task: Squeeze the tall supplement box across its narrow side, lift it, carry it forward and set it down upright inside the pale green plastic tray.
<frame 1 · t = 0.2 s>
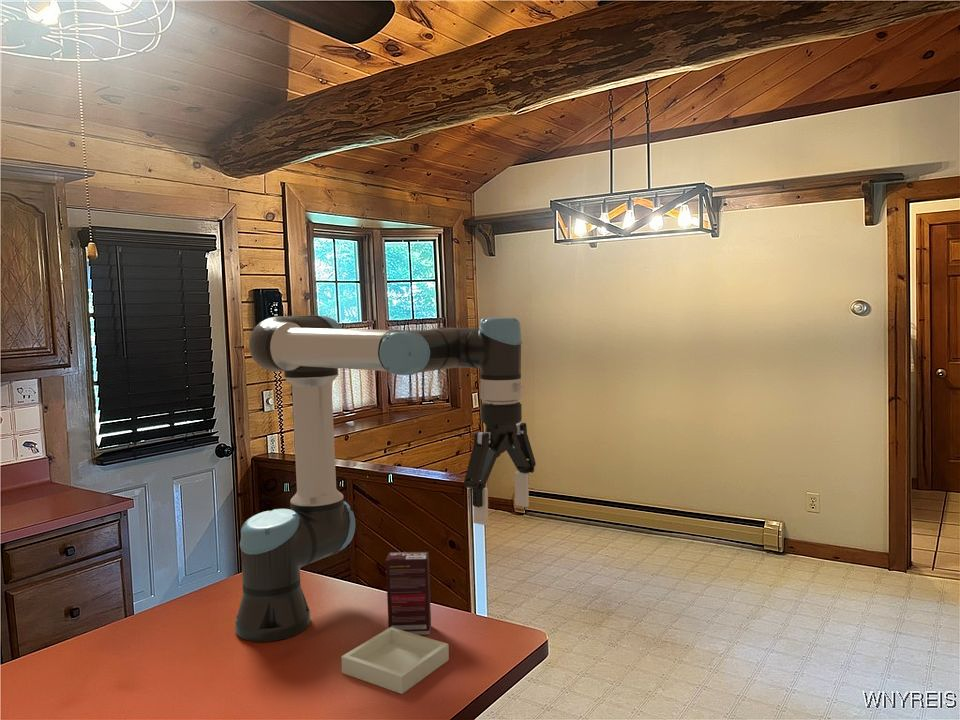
hand: (502, 514, 135), 28 cm above the countertop, fingers open, 13 cm apart
tray: (396, 666, 134), on the countertop
supplement box: (409, 631, 149), on the countertop
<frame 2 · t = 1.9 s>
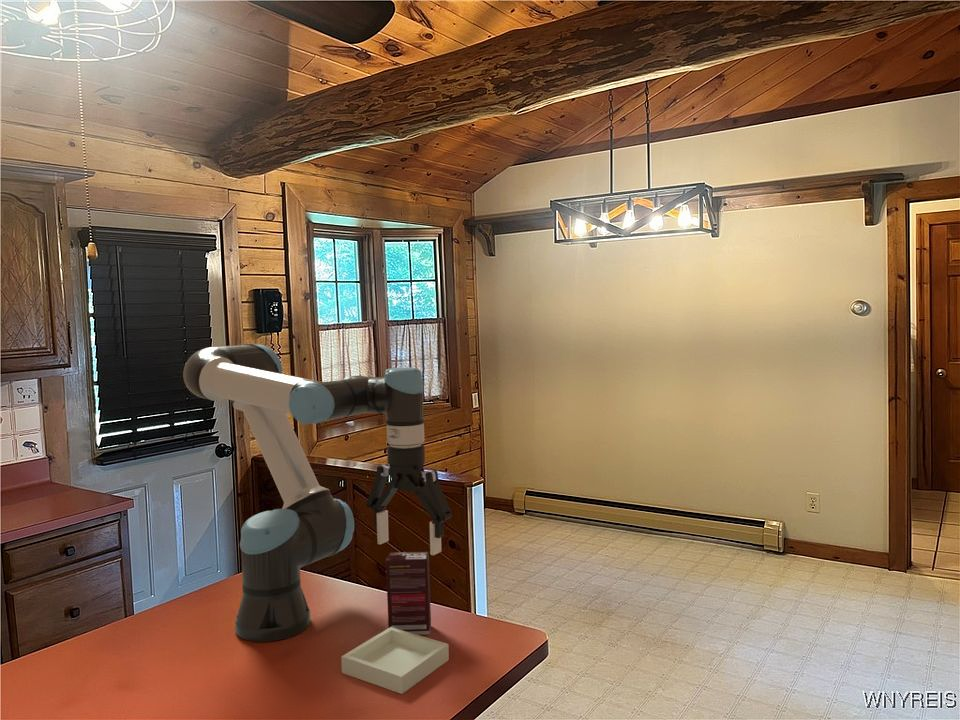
hand: (408, 547, 147), 17 cm above the countertop, fingers open, 13 cm apart
nothing on the countertop moved.
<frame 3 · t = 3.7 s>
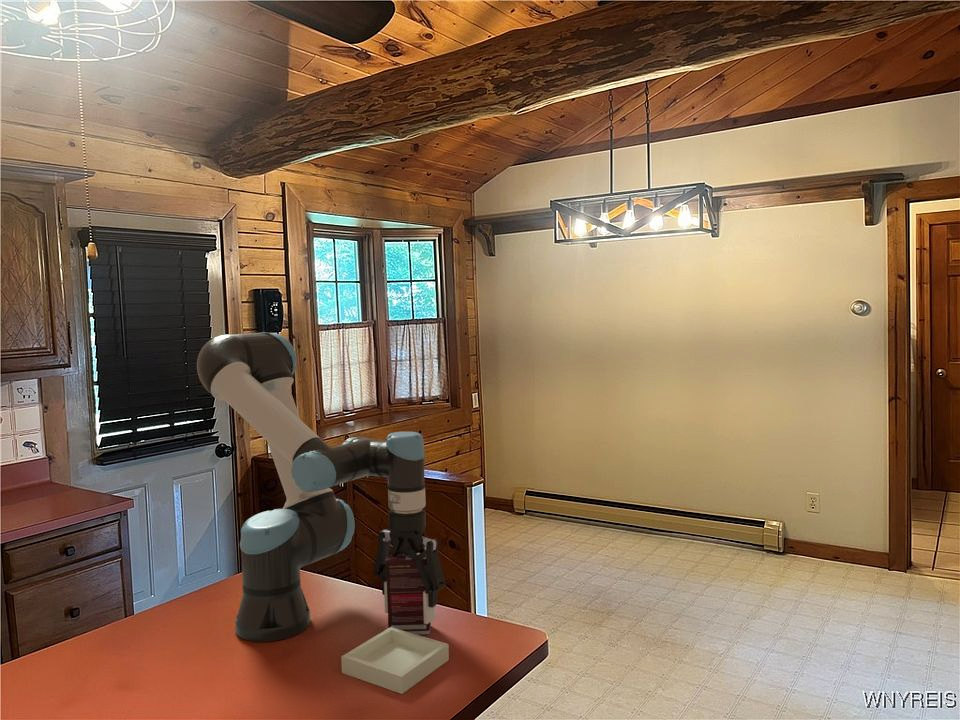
hand: (409, 615, 149), 3 cm above the countertop, fingers closed on supplement box, 9 cm apart
supplement box: (409, 631, 149), on the countertop, touching gripper
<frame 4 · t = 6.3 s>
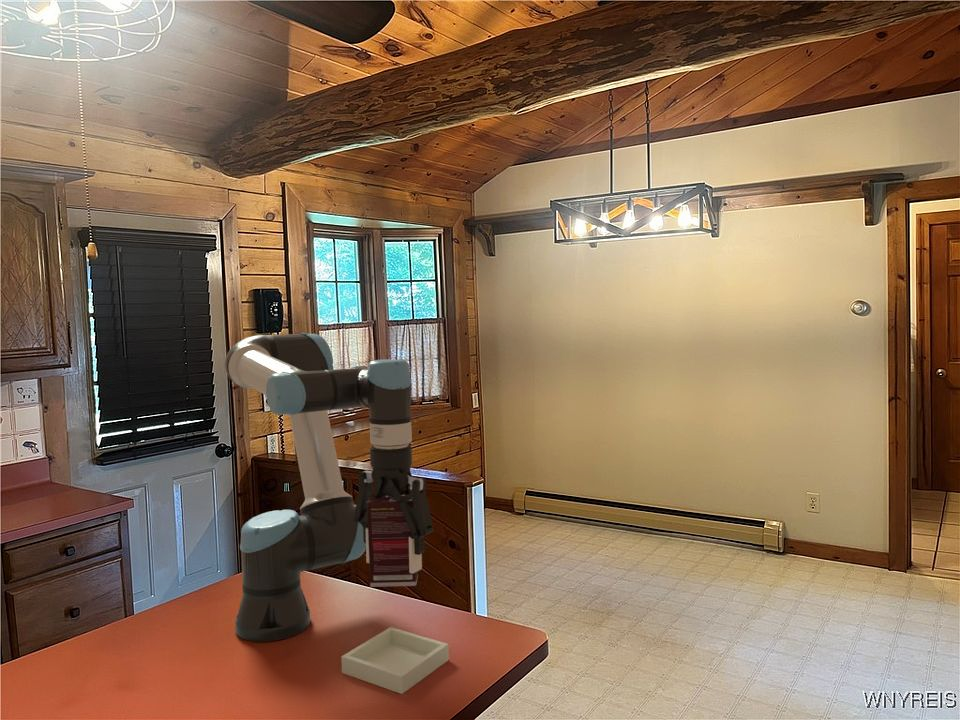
hand: (393, 565, 133), 19 cm above the countertop, fingers closed on supplement box, 9 cm apart
supplement box: (394, 583, 133), point 16 cm above the countertop, touching gripper
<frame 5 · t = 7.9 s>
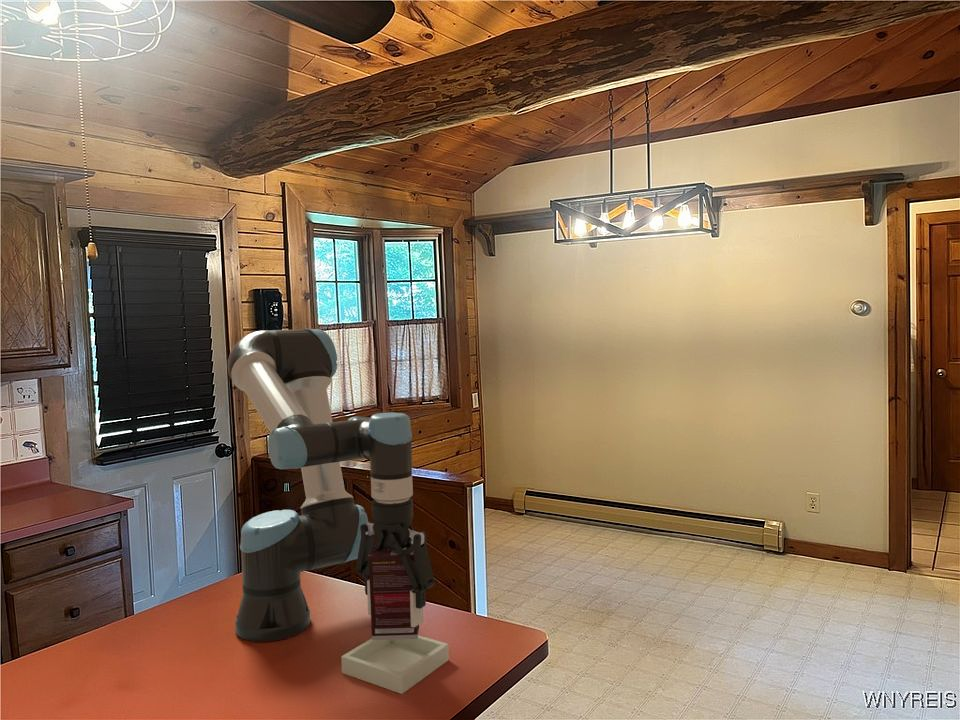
hand: (395, 618, 133), 9 cm above the countertop, fingers closed on supplement box, 9 cm apart
supplement box: (395, 635, 134), point 6 cm above the countertop, touching gripper
when the fingers open (5 cm above the countertop, at t = 9.4 s): supplement box stays where it is, resting on tray.
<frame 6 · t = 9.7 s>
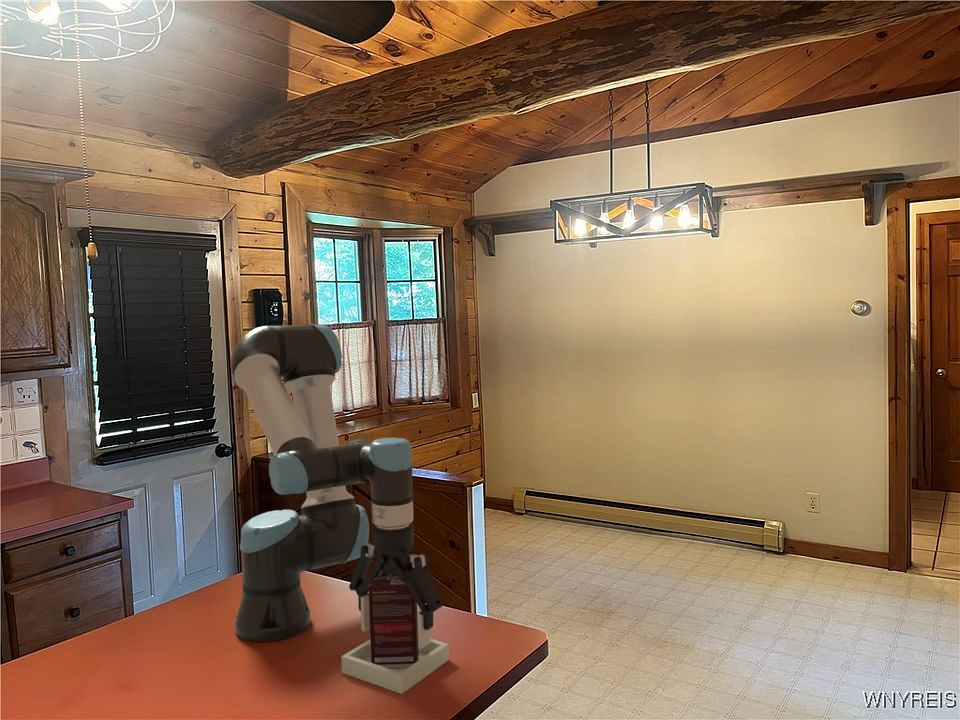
hand: (395, 636, 134), 6 cm above the countertop, fingers open, 13 cm apart
supplement box: (395, 663, 134), resting on tray
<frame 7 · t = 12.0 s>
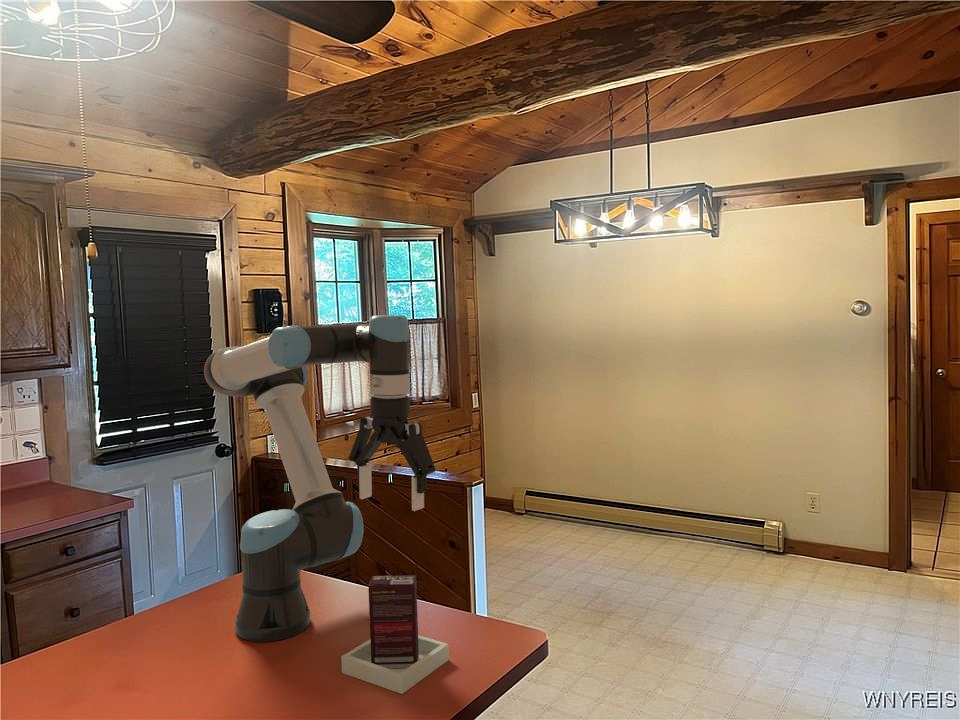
hand: (391, 503, 141), 28 cm above the countertop, fingers open, 13 cm apart
nothing on the countertop moved.
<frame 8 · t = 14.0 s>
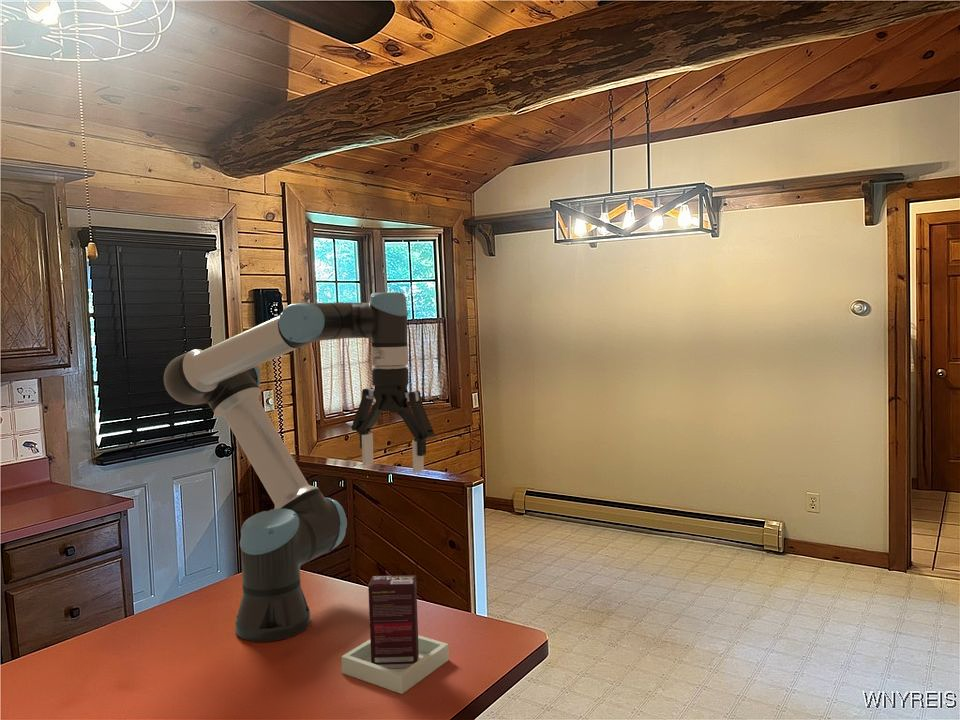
hand: (392, 467, 152), 33 cm above the countertop, fingers open, 13 cm apart
nothing on the countertop moved.
at the end: supplement box inside the target area on the tray (0.3 cm from its centre), point 0.4 cm above the tray's base; supplement box tilted 0°; the gripper is holding nothing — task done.
